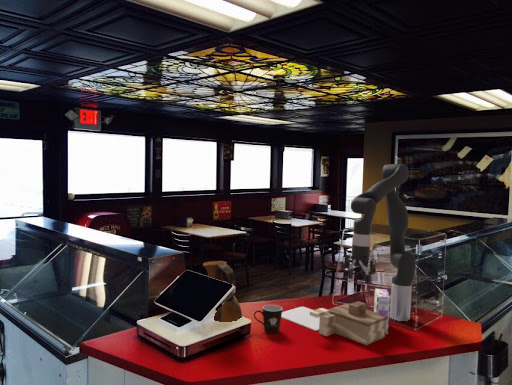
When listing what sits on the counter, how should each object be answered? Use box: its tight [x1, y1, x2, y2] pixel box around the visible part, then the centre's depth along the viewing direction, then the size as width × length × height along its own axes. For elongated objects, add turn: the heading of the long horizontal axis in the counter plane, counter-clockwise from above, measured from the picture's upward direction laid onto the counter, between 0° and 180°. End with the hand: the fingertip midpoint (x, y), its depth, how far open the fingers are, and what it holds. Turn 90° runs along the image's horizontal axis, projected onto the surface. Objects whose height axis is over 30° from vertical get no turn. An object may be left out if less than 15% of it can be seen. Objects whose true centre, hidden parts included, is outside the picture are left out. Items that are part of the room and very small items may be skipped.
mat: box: [281, 306, 320, 332], centre depth 206 cm, size 20×25×1 cm
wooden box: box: [318, 313, 386, 346], centre depth 186 cm, size 20×20×8 cm
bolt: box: [310, 307, 329, 318], centre depth 183 cm, size 8×4×2 cm, turn 133°
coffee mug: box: [253, 304, 284, 334], centre depth 188 cm, size 12×9×10 cm
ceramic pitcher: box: [202, 260, 243, 322], centre depth 184 cm, size 20×20×30 cm
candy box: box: [373, 288, 391, 335], centre depth 196 cm, size 14×6×16 cm, turn 168°
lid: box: [327, 300, 388, 327], centre depth 188 cm, size 15×21×6 cm
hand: (358, 281), depth 187 cm, fingers open, 8 cm apart
